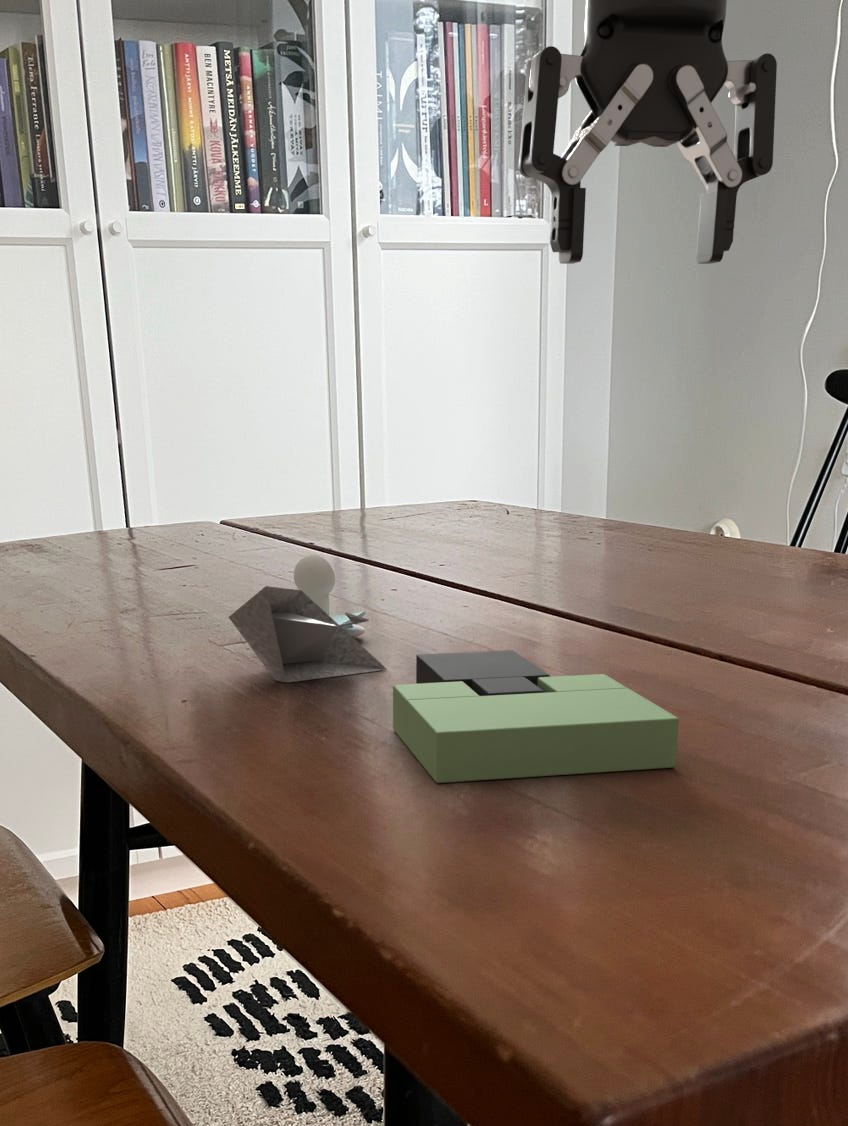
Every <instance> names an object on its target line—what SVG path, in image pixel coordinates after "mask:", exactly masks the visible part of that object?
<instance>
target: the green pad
mask: <svg viewBox="0 0 848 1126" xmlns="http://www.w3.org/2000/svg"><path fill="white" fill-rule="evenodd" d="M537 687H539V688H540V689H542V690H543V691H544V693H530V694H511V695H493V696H479V695H478V694H477V693H475V692H474V691H473V690H472V689H471V688H470V687H468V686H467V685H466V684H465V683H464V682H462V681H459V682H440V683H421V684H416V683H404V684H402V683H401V684H394V685H392V730H393V731H394V732H395V733H396V735H397V736H398V737H399V739H400V740H401V741H402V743H404V744H405V746H406V747H407V749H409V751H410V752H411V753H412V755H413V756H414V757H415V758H416V759H417V760H418V762H419V763H420V765H422V767H423V768H424V769H425V770H426V772H427V773H428V774H429V775H430V777H431V778H432V779H433V781H434V782H435V783H436V784H446V783H461V782H476V781H477V782H478V781H479V782H480V781H492V780H506V779H508V780H509V779H522V778H524V779H525V778H537V777H539V778H540V777H552V776H554V777H555V776H567V775H584V774H598V773H599V774H600V773H613V772H614V773H615V772H627V771H629V772H630V771H641V770H642V771H643V770H657V769H673V768H675V767H676V759H677V746H678V733H679V722H680V718H679V717H677V716H675V715H674V714H672V713H670V712H669V711H668V710H665V709H663V708H662V707H660V706H659V705H657V704H656V703H654V702H652V701H650V700H649V699H647V698H646V697H644V696H643V695H640V694H638V693H637V692H635V691H634V690H632V689H630V688H628V687H627V686H626V685H623V684H622V683H620V682H618V681H617V680H615V679H613V678H612V677H610V676H609V675H607V674H604V673H597V674H596V673H595V674H579V675H578V674H575V675H557V676H550V677H539V678H538V684H537Z"/></svg>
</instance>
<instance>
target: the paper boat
mask: <svg viewBox="0 0 848 1126" xmlns="http://www.w3.org/2000/svg"><path fill="white" fill-rule="evenodd" d="M352 614H353V613H349V612H345V613H344V615H346V616H347V617H348V618H349V619H350V620H351V621H352V622H351V623H347V624H342V625H339V624H337V623H336V622H335V621H334V620H333V619H332V618H331V617H330V616H331V615H330V614H329V615H328V614H327V613H325V612H324V611H323V610H322V609H321V608H320V607H319V606H318V605H317V604H316V603H315V602H313V601H312V600H311V599H310V598H309V597H308V596H307V595H306V594H305V593H304V592H303V591H301V590H298V589H295V588H284V587H278V586H270V585H265V586H264V587H263V588H262V589H260V590H259V591H258V592H257V593H256V594H254V595H253V596H252V597H251V598H250V599H248V600H247V601H246V602H245V603H244V604H243V605H241V606H240V607H239V608H238V609H237V610H235V611H234V612H233V613H232V614H230V615H229V616H228V619H229V620H230V622H231V623H232V625H233V626H234V627H235V629H236V630H237V631H238V632H239V634H240V635H241V636H242V637H243V639H244V640H245V642H246V643H247V644H248V646H249V647H250V649H251V650H252V651H253V652H254V654H255V655H256V657H257V658H258V659H259V660H260V662H261V663H262V665H263V666H264V667H265V668H266V670H267V671H268V673H269V674H270V675H271V677H272V678H273V680H274V681H276V682H281V683H286V684H287V683H293V682H301V681H302V682H303V681H309V680H317V679H325V678H332V677H340V676H348V675H356V674H362V673H363V674H364V673H373V672H378V671H380V672H381V671H387V670H388V668H387V667H386V666H385V665H383V664H382V663H381V662H380V661H379V660H378V659H377V658H376V657H375V656H374V655H372V654H371V653H370V652H369V651H368V650H367V649H366V648H365V647H364V646H363V645H362V644H361V643H359V641H357V640H356V639H355V638H354V637H352V636H351V635H349V634H348V633H347V632H346V631H345V630H344V629H343V628H342V627H343V626H347V625H352V624H354V625H358V624H361V623H366V622H369V621H370V620H369V618H365V617H359V616H356V615H352Z"/></svg>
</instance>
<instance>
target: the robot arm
mask: <svg viewBox="0 0 848 1126" xmlns="http://www.w3.org/2000/svg"><path fill="white" fill-rule="evenodd" d="M727 1H728V0H585V17H584V45H583V49H582V51H581V54H580V55H577V54H567V53H561V52H560V50H559V49H558V48H557V47H555V46H552V45H549V46H547V47H545V48H543V49H541V50H540V51H538V53H536V54H535V55H534V56H533V57H532V58H530V59H529V60H528V62H527V65H526V70H525V71H526V72H525V83H524V84H525V85H524V93H523V94H524V96H523V107H522V121H521V132H520V133H521V134H520V144H519V145H520V146H519V157H518V171H519V173H520V174H521V176H523V177H524V178H526V179H535V180H536V181H539V182H541V183H544V184H545V185H546V186H547V187H548V189H549V191H550V195H551V203H550V232H549V245H550V248H551V252H552V253H558V262H559V264H560V265H565V264H566V265H569V264H572V265H573V264H577V263H580V262H581V261H582V259H583V255H584V239H585V238H584V237H585V214H586V196H587V193H586V192H587V187H581V184H582V183H581V182H582V179H583V178H584V176H585V175H586V173H587V172H588V171H589V169H591V166H592V165H593V164H594V162H595V160H596V159H597V158H598V156H599V155H600V154H601V153H602V151H604V150H605V149H606V147H607V146H608V145H609V144H610V143H611V142H613V143H614V147H629V146H632V145H636V144H639V143H642V144H645V145H647V146H651V147H655V148H667V147H669V146H672V145H674V144H676V146H677V148H678V149H679V152H680V153H681V155H682V156H683V158H684V159H685V160H686V161H688V162H689V163H690V164H691V166H692V167H693V169H694V170H695V173H696V174H697V176H698V177H699V179H700V181H701V183H702V186H703V187H704V188H705V191H706V192H704V193H701V194H700V203H699V217H698V230H697V239H696V240H697V241H696V257H695V258H696V263H697V264H699V265H710V264H716V263H720V262H722V260H723V258H724V252H728V251H730V249H731V247H732V244H733V242H734V232H735V231H734V230H735V220H736V219H735V218H736V208H737V196H738V192H739V189H740V188H741V186H743V184H745V183H746V182H749V181H751V180H754V179H756V178H759V177H761V176H764V175H767V174H768V173H769V172H770V171H771V170H772V168H773V164H774V145H775V144H774V141H775V140H774V139H775V118H776V117H775V116H776V97H777V96H776V93H777V71H778V69H777V68H778V66H777V65H778V63H777V59H776V57H775V56H774V54H771V53H768V52H766V53H763V54H762V55H759V56H757V57H755V58H753V59H745V60H743V59H742V60H727V57H726V54H725V51H724V48H723V33H724V28H725V23H726V15H727ZM572 80H575V83H576V86H577V87H578V89H579V91H580V93H581V95H582V96H583V98H584V100H585V103H586V104H587V106H588V108H589V109H590V111H589V113H588V115H586V117H585V119H584V120H583V122H582V123H581V124H580V126H579V127H578V129H577V130H576V131H575V133H574V135H573V136H572V138H570V140H569V143H568V146H567V147H566V149H565V151H564V152H563V153H562V155H561V156H559V155H558V154H555V153H554V150H555V139H556V127H557V118H558V117H557V116H558V105H559V99H561V98H562V97H563V96H565V95H566V94H567V93H568V92H569V89H570V84H571V82H572ZM724 86H725V88H726V89H727V92H728V98H729V101H730V103H731V104H732V105H734V106H735V117H734V123H735V124H734V144H733V145H734V149H733V151H732V149H731V147H730V145H729V143H728V133H727V130H726V129H725V127H724V125H723V124H722V122H721V119H720V118H719V115H718V114H717V112H716V110H715V108H714V106H713V105H712V103H713V101H714V100H715V98H716V97H717V96H718V94H719V93H720V91H721V90H722V88H723V87H724Z"/></svg>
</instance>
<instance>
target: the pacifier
mask: <svg viewBox="0 0 848 1126" xmlns="http://www.w3.org/2000/svg"><path fill="white" fill-rule="evenodd" d="M293 581H294V584H295V586H296V588H297V590H301V591H303V592H304V593H305V594H306V595H307V596H308V597H309V598H310V599H311V600H312V601H313V602H315V603H316V604H317V605H318V606H319V607H320V608H321V609H322V610H323V611H324V612H325V613H327V614H328V615H329V616H330V617H331V618H332V619H333V620H334V621H335V622H336V623H337V624H339V625H342V624H347V623H351V622H352V621H351V620H350V619H349V618H348V617H347V616H346V615H345V614H341V615H330V594H331V592H332V591H333V589H334V587H335V584H336V577H335V572H334V569H333V566H332V565H331V564H330V563H329V562H328V560H327V559H325V558H324V557H322V556H321V555H318V554H307V555H304V556H302V557H301V558H300V559H299V560H298V561H297V562H296V564H295V567H294V570H293ZM351 614H352V615H356V616H359V617H362V618H364V616H365V615H366V610H362V611H358V612H355V613H351ZM342 628H343V629H344V630H345V631H346V632H347V633H348V634H349V635H351V636H352V637H353V638H354V637H358V636H359V637H360V636H362V635H364V634H365V633H366V628H365V627H363V626H362V625H360V624H359V625H358V624H355V625H354V624H352V625H347V626H343V627H342Z"/></svg>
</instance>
